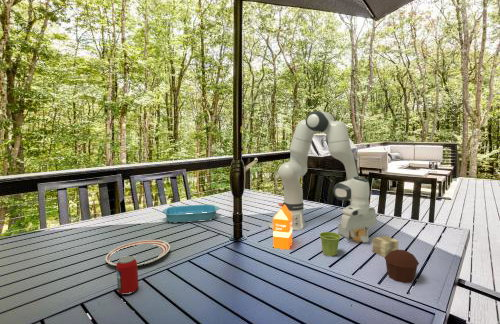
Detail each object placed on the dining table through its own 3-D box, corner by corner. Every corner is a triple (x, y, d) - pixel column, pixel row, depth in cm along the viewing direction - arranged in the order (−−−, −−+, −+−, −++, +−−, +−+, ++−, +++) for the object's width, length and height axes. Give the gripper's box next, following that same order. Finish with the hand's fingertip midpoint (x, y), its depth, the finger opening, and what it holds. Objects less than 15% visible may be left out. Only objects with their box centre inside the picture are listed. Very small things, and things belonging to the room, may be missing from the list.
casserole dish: (217, 212, 201) (217, 202, 200) (221, 221, 179) (221, 210, 178) (164, 216, 193) (163, 206, 192) (161, 226, 171) (160, 215, 170)
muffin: (402, 287, 99) (403, 260, 98) (377, 273, 109) (378, 249, 108) (425, 280, 104) (426, 254, 103) (398, 267, 114) (399, 243, 113)
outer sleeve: (348, 239, 144) (349, 228, 144) (338, 234, 151) (338, 224, 151) (359, 237, 147) (359, 226, 146) (348, 232, 154) (349, 222, 154)
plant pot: (340, 250, 131) (341, 232, 130) (340, 259, 122) (340, 240, 121) (320, 248, 134) (320, 231, 133) (318, 256, 125) (318, 237, 124)
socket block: (384, 257, 123) (385, 243, 122) (372, 251, 129) (372, 238, 129) (398, 254, 126) (398, 240, 125) (385, 248, 132) (385, 235, 132)
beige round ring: (106, 278, 110) (105, 270, 109) (105, 252, 134) (105, 246, 134) (176, 262, 122) (176, 255, 122) (164, 241, 147) (164, 235, 146)
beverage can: (122, 286, 103) (120, 255, 102) (141, 285, 104) (139, 254, 102) (115, 297, 96) (112, 263, 95) (135, 295, 97) (133, 262, 96)
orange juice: (273, 248, 135) (272, 207, 133) (277, 241, 144) (277, 203, 142) (288, 250, 133) (288, 209, 131) (292, 243, 141) (292, 204, 139)
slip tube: (362, 244, 137) (362, 232, 137) (336, 232, 155) (336, 221, 154) (369, 242, 139) (369, 231, 138) (343, 231, 156) (343, 220, 156)
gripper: (370, 205, 148) (369, 230, 149) (339, 210, 140) (339, 236, 141) (380, 208, 142) (379, 234, 143) (348, 213, 134) (347, 241, 136)
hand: (359, 235), depth 142 cm, fingers open, 6 cm apart
